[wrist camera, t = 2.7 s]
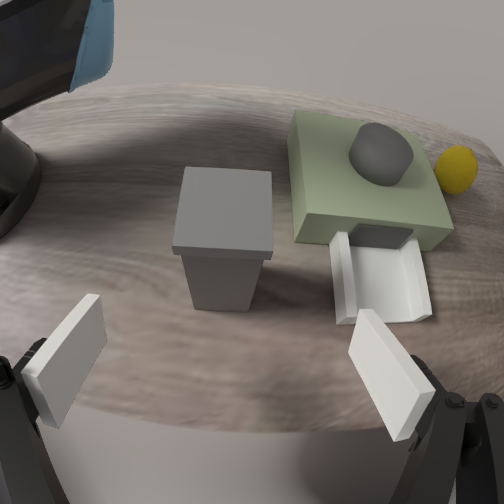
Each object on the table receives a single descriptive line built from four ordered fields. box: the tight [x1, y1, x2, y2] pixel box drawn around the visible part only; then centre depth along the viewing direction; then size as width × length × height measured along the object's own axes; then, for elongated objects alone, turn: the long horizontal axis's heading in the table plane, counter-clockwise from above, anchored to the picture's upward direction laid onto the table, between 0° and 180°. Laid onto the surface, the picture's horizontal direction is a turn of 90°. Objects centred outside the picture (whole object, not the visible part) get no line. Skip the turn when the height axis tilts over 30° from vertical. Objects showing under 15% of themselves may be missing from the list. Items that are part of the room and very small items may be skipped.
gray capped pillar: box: [172, 167, 273, 312], centre depth 22 cm, size 5×5×12 cm
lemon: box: [434, 145, 478, 194], centre depth 32 cm, size 6×6×8 cm
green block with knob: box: [287, 110, 454, 325], centre depth 28 cm, size 22×16×8 cm
